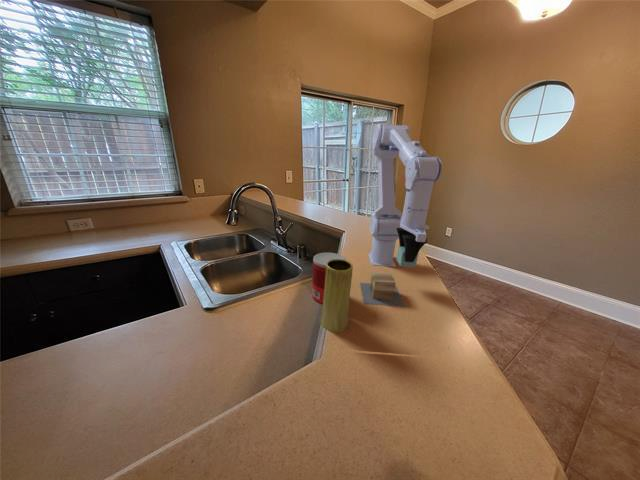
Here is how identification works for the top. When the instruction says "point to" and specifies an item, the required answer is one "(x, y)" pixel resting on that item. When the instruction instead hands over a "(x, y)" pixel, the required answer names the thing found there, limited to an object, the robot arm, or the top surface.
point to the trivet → (369, 300)
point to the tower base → (381, 294)
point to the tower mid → (383, 281)
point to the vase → (336, 295)
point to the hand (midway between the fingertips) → (406, 257)
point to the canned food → (321, 274)
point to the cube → (402, 259)
